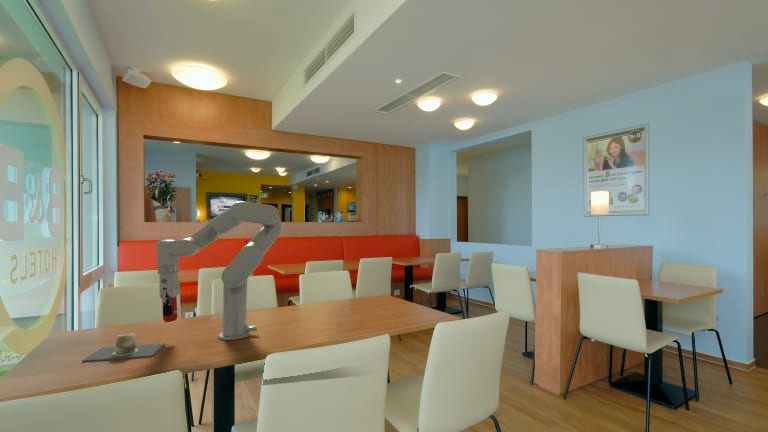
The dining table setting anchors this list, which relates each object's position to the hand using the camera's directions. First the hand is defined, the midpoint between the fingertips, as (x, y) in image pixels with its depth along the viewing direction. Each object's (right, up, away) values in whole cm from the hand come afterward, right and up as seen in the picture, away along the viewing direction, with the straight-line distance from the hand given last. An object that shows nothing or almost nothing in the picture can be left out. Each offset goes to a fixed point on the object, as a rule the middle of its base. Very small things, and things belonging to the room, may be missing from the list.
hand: (170, 313), depth 152 cm
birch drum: (-8, -10, -15) cm, 20 cm away
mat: (-8, -11, -14) cm, 20 cm away
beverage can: (0, -3, 0) cm, 3 cm away
